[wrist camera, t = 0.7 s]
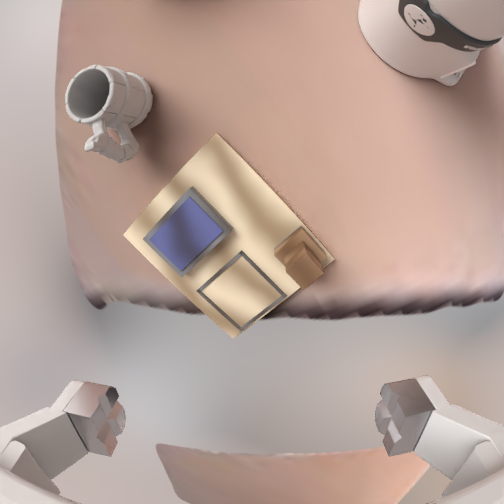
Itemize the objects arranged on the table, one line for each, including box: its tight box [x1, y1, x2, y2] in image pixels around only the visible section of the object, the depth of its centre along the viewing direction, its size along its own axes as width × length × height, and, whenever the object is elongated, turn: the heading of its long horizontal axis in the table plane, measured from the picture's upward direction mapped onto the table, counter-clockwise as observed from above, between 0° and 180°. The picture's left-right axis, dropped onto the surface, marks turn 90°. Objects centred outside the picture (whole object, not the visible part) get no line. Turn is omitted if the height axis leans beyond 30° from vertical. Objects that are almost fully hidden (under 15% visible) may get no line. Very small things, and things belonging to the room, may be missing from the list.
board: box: [124, 133, 335, 338], centre depth 37 cm, size 18×21×3 cm
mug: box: [65, 65, 153, 163], centre depth 28 cm, size 8×12×12 cm, turn 15°
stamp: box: [274, 226, 327, 290], centre depth 34 cm, size 4×4×7 cm
